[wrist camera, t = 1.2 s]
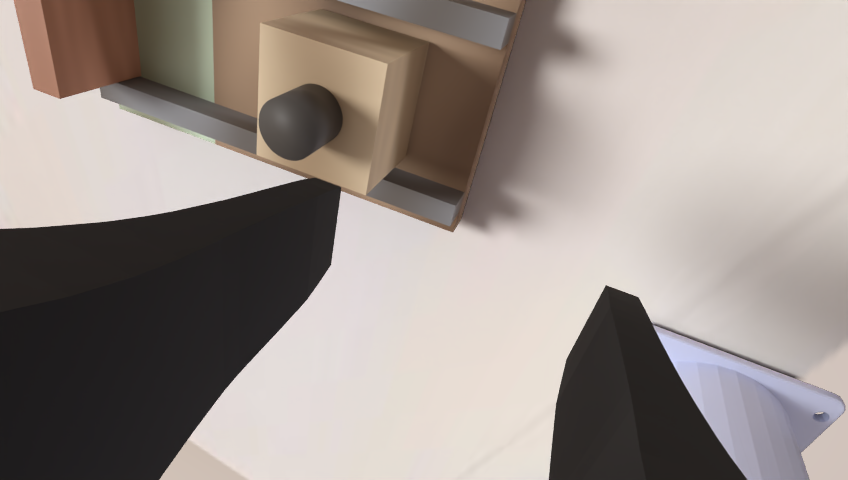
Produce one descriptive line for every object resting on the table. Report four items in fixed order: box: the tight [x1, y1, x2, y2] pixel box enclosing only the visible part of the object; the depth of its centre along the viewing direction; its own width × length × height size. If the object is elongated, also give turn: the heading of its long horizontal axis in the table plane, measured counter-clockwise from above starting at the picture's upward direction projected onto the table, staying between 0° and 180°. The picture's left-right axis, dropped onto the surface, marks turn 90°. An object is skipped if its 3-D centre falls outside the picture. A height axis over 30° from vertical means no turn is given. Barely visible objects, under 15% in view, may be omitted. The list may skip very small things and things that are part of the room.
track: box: [14, 0, 526, 232], centre depth 18 cm, size 16×9×5 cm, turn 77°
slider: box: [257, 9, 430, 195], centre depth 16 cm, size 4×4×5 cm
